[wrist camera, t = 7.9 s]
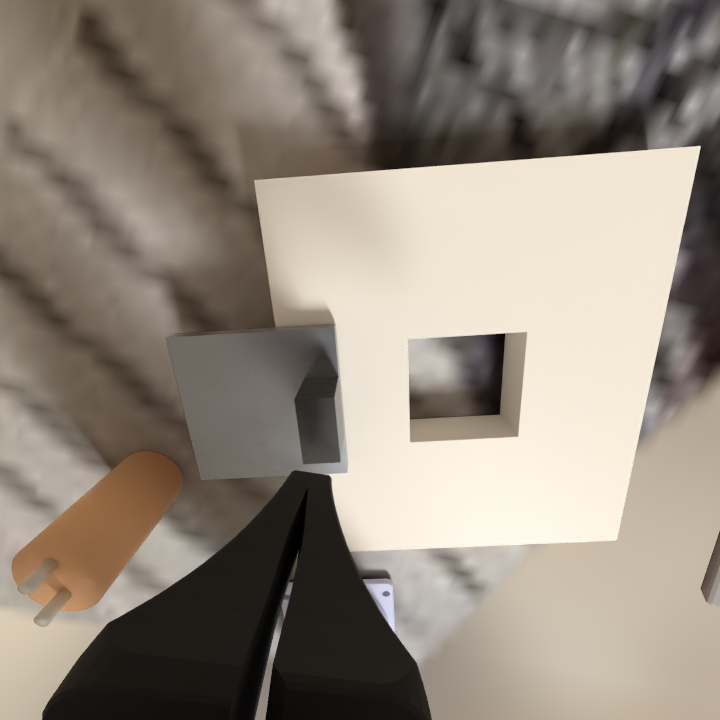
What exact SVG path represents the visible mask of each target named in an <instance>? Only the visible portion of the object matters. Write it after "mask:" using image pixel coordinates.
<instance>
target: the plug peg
mask: <svg viewBox="0 0 720 720" xmlns="http://www.w3.org/2000/svg"><path fill="white" fill-rule="evenodd" d="M183 485H184V479H183V475H182V472H181V471H180V469H179V467H178V466H177V465H176V464H175V463H174V462H173V461H172V460H171V459H170V458H168V457H166V456H165V455H163V454H160V453H157V452H153V451H139V452H135V453H133V454H131V455H129V456H128V457H127V458H126V459H124V460H123V461H122V462H121V463H120V464H119V465H118V466H116V467H115V468H114V469H113V470H112V471H111V472H110V473H108V474H107V475H106V476H105V477H104V478H103V479H102V480H100V481H99V482H98V483H97V484H96V485H95V486H94V487H93V488H91V489H90V490H89V491H88V492H87V493H86V494H85V495H83V496H82V497H81V498H80V499H79V500H78V501H77V502H75V503H74V504H73V505H72V506H71V507H70V508H69V509H67V510H66V511H65V512H64V513H63V514H62V515H61V516H59V517H58V518H57V519H56V520H55V521H54V522H53V523H51V524H50V525H49V526H48V527H47V528H46V529H45V530H43V531H42V532H41V533H40V534H39V535H38V536H37V537H35V538H34V539H33V540H32V541H31V542H30V543H29V544H27V545H26V546H25V547H24V548H23V549H22V550H21V551H19V552H18V553H17V555H16V556H15V558H14V559H13V562H12V574H13V577H14V580H15V582H16V583H17V585H18V591H19V592H20V593H22V594H24V595H27V596H28V597H30V598H31V599H33V600H34V601H36V602H37V603H39V604H41V605H44V606H45V607H44V608H43V609H42V610H41V611H40V613H39V614H38V615H37V616H36V617H35V618H34V622H35V624H37V625H38V626H41V627H45V626H47V625H48V624H49V623H50V622H51V621H52V620H53V618H54V617H55V616H56V615H57V614H58V612H59V611H81V610H85V609H88V608H90V607H92V606H94V605H95V604H97V603H98V602H99V601H100V599H101V598H102V597H103V595H104V594H105V593H106V591H107V590H108V589H109V587H110V586H111V585H112V583H113V582H114V581H115V579H116V578H117V577H118V575H119V574H120V573H121V571H122V570H123V569H124V567H125V566H126V565H127V563H128V562H129V561H130V560H131V558H132V557H133V556H134V554H135V553H136V552H137V550H138V549H139V548H140V546H141V545H142V544H143V542H144V541H145V540H146V538H147V537H148V536H149V534H150V533H151V532H152V530H153V529H154V528H155V526H156V525H157V524H158V522H159V521H160V520H161V518H162V517H163V516H164V514H165V513H166V512H167V510H168V509H169V508H170V506H171V505H172V504H173V502H174V501H175V500H176V498H177V497H178V496H179V494H180V493H181V491H182V489H183Z"/></svg>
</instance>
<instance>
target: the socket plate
mask: <svg viewBox="0 0 720 720" xmlns="http://www.w3.org/2000/svg"><path fill="white" fill-rule="evenodd" d="M700 147H701V146H695V147H682V148H669V149H656V150H642V151H629V152H616V153H603V154H590V155H577V156H564V157H551V158H537V159H524V160H511V161H498V162H485V163H472V164H459V165H446V166H432V167H419V168H406V169H393V170H380V171H367V172H354V173H341V174H327V175H314V176H301V177H288V178H275V179H262V180H254V183H255V190H256V197H257V204H258V211H259V218H260V225H261V231H262V238H263V245H264V252H265V259H266V266H267V273H268V280H269V286H270V293H271V300H272V307H273V314H274V321H275V327H288V326H304V325H320V324H336V333H337V344H338V355H339V367H340V378H341V389H342V400H343V411H344V423H345V434H346V445H347V456H348V473H337V474H325V475H329V476H330V477H331V478H332V491H333V497H334V503H335V507H336V511H337V515H338V518H339V522H340V525H341V528H342V532H343V534H344V537H345V540H346V543H347V546H348V548H349V551H350V552H354V551H378V550H402V549H425V548H449V547H473V546H496V545H520V544H544V543H568V542H590V541H613V540H617V536H618V531H619V527H620V522H621V518H622V513H623V508H624V503H625V499H626V494H627V490H628V485H629V480H630V475H631V471H632V466H633V461H634V457H635V452H636V447H637V443H638V438H639V433H640V429H641V424H642V419H643V414H644V410H645V405H646V400H647V396H648V391H649V386H650V382H651V377H652V372H653V368H654V363H655V358H656V354H657V349H658V344H659V339H660V335H661V330H662V325H663V321H664V316H665V311H666V307H667V302H668V297H669V293H670V288H671V283H672V279H673V274H674V269H675V264H676V260H677V255H678V250H679V246H680V241H681V236H682V232H683V227H684V222H685V218H686V213H687V208H688V204H689V199H690V194H691V189H692V185H693V180H694V175H695V171H696V166H697V161H698V157H699V152H700ZM501 333H505V346H504V360H503V375H502V390H501V404H500V415H483V416H465V417H446V418H428V419H410V412H409V368H408V339H419V338H435V337H452V336H468V335H485V334H501Z"/></svg>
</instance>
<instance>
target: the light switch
mask: <svg viewBox="0 0 720 720" xmlns="http://www.w3.org/2000/svg"><path fill="white" fill-rule="evenodd" d="M701 590H702V593H703V595H704V598H705V601H706V602H707V603H709V604H711V605H713V606H716V607H720V532H719V535H718V538H717V541H716V544H715V547H714V550H713V553H712V556H711V559H710V562H709V565H708V568H707V571H706V574H705V577H704V580H703V583H702V586H701Z"/></svg>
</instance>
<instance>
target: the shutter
mask: <svg viewBox="0 0 720 720" xmlns="http://www.w3.org/2000/svg"><path fill="white" fill-rule="evenodd" d="M166 342H167V346H168V350H169V354H170V358H171V362H172V366H173V370H174V374H175V378H176V382H177V386H178V390H179V394H180V398H181V402H182V406H183V410H184V414H185V418H186V422H187V426H188V430H189V434H190V438H191V442H192V446H193V450H194V454H195V458H196V462H197V466H198V470H199V474H200V478H201V480H215V479H236V478H256V477H276V476H289V475H290V473H291V472H292V471H294V470H298V471H305V472H311V473H318V474H337V473H348V456H347V445H346V434H345V423H344V411H343V400H342V389H341V378H340V367H339V355H338V344H337V333H336V324H320V325H304V326H288V327H272V328H256V329H240V330H224V331H208V332H192V333H177V334H173V335H171V336H168V337H166Z"/></svg>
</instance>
